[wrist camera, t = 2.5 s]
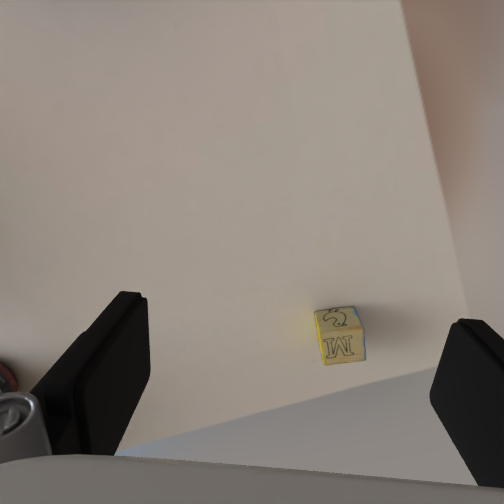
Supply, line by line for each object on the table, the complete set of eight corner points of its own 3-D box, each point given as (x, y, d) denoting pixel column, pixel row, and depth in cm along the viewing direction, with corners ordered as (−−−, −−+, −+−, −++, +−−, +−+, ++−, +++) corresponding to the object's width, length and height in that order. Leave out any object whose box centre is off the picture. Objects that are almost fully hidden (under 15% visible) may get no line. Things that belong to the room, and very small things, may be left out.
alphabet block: (356, 337, 28) (367, 362, 25) (317, 342, 28) (324, 368, 25) (353, 304, 27) (364, 326, 24) (313, 310, 27) (319, 332, 24)
